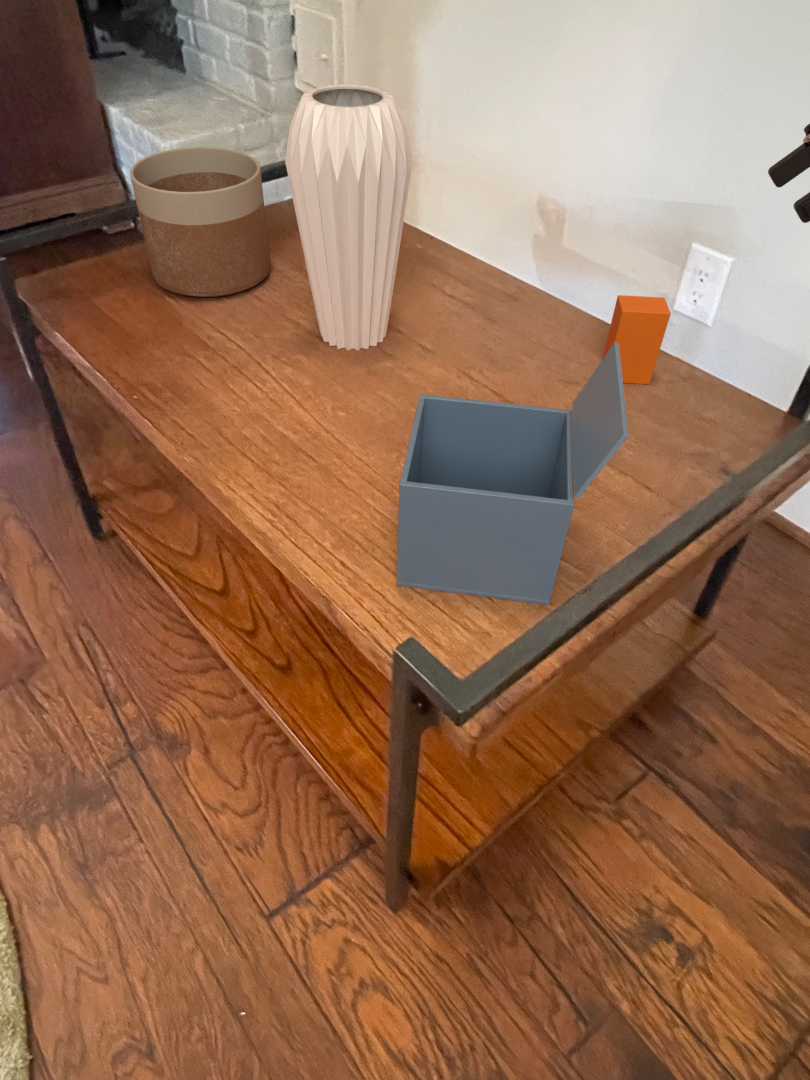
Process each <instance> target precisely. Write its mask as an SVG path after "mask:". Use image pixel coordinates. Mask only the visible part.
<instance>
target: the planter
mask: <svg viewBox="0 0 810 1080" xmlns="http://www.w3.org/2000/svg"><path fill="white" fill-rule="evenodd" d="M129 177H130V182H131V186H132V190H133V195H134V199H135V204H136V209H137V212H138V217H139V222H140V227H141V230H142V235H143V239H144V244H145V249H146V253H147V257H148V262H149V267H150V272H151V275H152V278H153V280H154V281H155V282H156V283H157V284H158V286H160V287H162V288H163V289H165V290H167V291H169V292H171V293H175V294H178V295H182V296H187V297H197V298H211V297H212V298H215V297H223V296H224V297H225V296H229V295H234V294H238V293H241V292H243V291H246V290H249V289H251V288H253V287H255V286H257V285H258V284H259V283H261V282H263V280H265V279H266V277H267V276H268V275H269V273H270V270H271V256H270V247H269V238H268V237H269V236H268V228H267V219H266V218H267V217H266V208H265V200H264V199H265V197H264V189H263V180H262V172H261V165H260V163H259V162H258V160H257V159H256V158H254V157H253V156H252V155H249V154H248V153H245V152H243V151H239V150H236V149H231V148H226V147H218V146H187V147H186V146H185V147H176V148H171V149H166V150H162V151H158V152H155V153H151V154H150V155H147V156H145V157H142V158H141V159H139V160H137V162H135V163H134V164H133V165H132V167H131V168H130V171H129Z"/></svg>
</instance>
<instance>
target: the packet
mask: <svg viewBox="0 0 810 1080" xmlns="http://www.w3.org/2000/svg"><path fill="white" fill-rule="evenodd" d="M613 309H614V310H613V313H612V314H613V315H612V318H611V322H610V326H609V328H608V329H609V330H608V333H607V338H606V342H605V346H604V350H603V354H602V357H601V361H602V360H603V358H604V357H605V355H606V354H607V353H608V351H609V350H610V348H611V347H612V345H613V344H614V343H618V344H619V350H620V359H621V369H622V378H623V384H636V385H650V384H651V381H652V376H653V373H654V370H655V367H656V364H657V360H658V358H659V353H660V352H661V351H660V350H661V348H662V344H663V341H664V337H665V334H666V331H667V328H668V324H669V321H670V318H671V314H672V313H671V310H670V308H669V305H668V302H667V300H666V298H665V297H663V296H662V297H660V296H643V295H640V296H639V295H623V294H618V295H617V297H616V301H615V305H614V308H613Z"/></svg>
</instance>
